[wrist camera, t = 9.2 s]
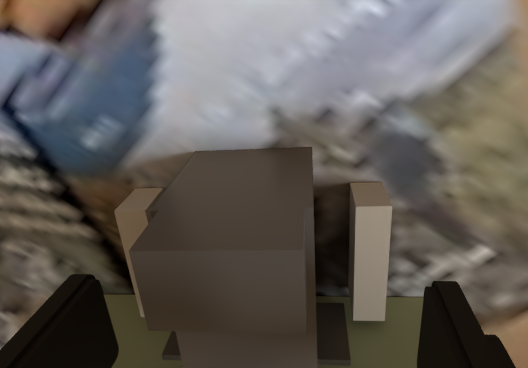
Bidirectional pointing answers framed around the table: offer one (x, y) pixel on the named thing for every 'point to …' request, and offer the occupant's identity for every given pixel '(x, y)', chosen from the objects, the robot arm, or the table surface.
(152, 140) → the table surface
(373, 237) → the green base with button
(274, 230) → the dark grey block
